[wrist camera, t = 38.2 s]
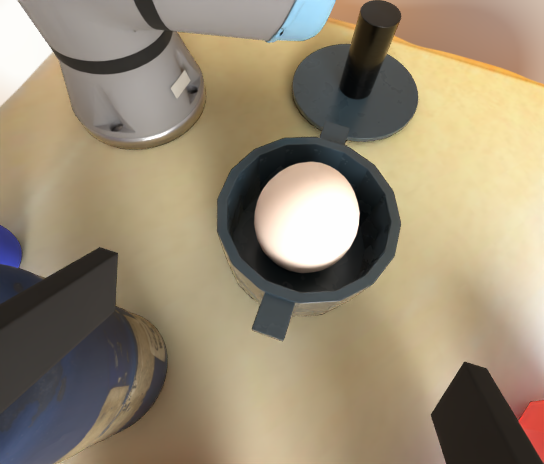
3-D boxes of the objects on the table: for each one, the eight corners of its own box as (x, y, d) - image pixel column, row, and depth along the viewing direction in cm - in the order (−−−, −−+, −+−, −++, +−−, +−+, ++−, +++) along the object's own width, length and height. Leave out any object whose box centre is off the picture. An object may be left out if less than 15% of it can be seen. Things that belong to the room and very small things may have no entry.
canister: (39, 420, 26) (-379, 532, 9) (84, 304, 29) (-152, 228, 12) (153, 442, 25) (-57, 601, 9) (185, 322, 29) (80, 268, 12)
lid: (275, 123, 38) (279, 44, 28) (311, 40, 44) (324, -49, 34) (402, 160, 36) (452, 90, 27) (422, 69, 42) (468, -15, 33)
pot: (191, 313, 29) (170, 298, 22) (264, 147, 36) (264, 97, 30) (344, 369, 28) (371, 372, 21) (387, 184, 35) (417, 141, 28)
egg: (238, 257, 31) (226, 203, 20) (281, 191, 34) (290, 113, 23) (317, 301, 29) (349, 268, 19) (354, 228, 32) (400, 163, 22)
